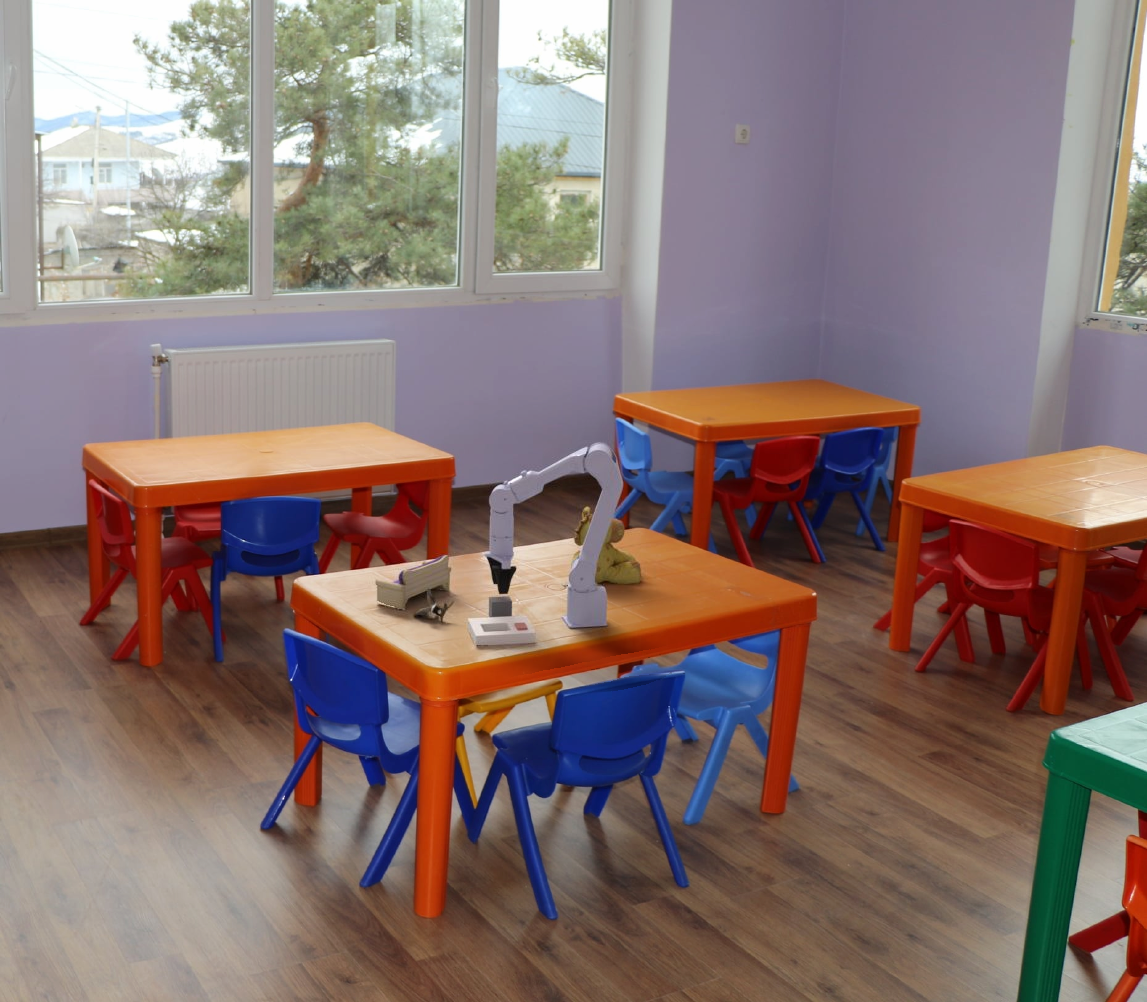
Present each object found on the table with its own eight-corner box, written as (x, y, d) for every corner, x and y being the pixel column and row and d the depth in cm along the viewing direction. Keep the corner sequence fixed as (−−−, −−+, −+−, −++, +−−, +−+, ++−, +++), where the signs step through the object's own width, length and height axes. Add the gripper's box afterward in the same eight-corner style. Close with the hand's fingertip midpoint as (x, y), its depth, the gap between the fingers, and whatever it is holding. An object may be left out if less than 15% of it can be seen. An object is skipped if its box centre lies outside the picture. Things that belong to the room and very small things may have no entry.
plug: (508, 615, 315) (509, 596, 314) (511, 620, 311) (512, 601, 310) (488, 616, 314) (488, 597, 312) (491, 621, 310) (491, 602, 309)
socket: (525, 625, 308) (525, 613, 307) (535, 642, 297) (535, 630, 296) (467, 628, 305) (467, 616, 304) (475, 646, 293) (475, 633, 293)
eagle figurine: (457, 611, 313) (430, 597, 317) (451, 593, 308) (423, 579, 312) (438, 633, 309) (411, 619, 314) (431, 615, 304) (403, 601, 309)
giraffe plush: (655, 579, 347) (658, 511, 342) (593, 597, 331) (595, 525, 326) (601, 562, 361) (604, 496, 356) (540, 578, 345) (541, 509, 340)
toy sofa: (425, 584, 337) (425, 547, 334) (451, 590, 333) (452, 553, 330) (374, 605, 319) (374, 566, 317) (402, 612, 315) (402, 573, 312)
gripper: (480, 527, 313) (479, 580, 316) (490, 543, 299) (489, 598, 303) (508, 526, 315) (507, 579, 318) (519, 542, 301) (518, 597, 304)
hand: (500, 588), depth 310 cm, fingers open, 7 cm apart
